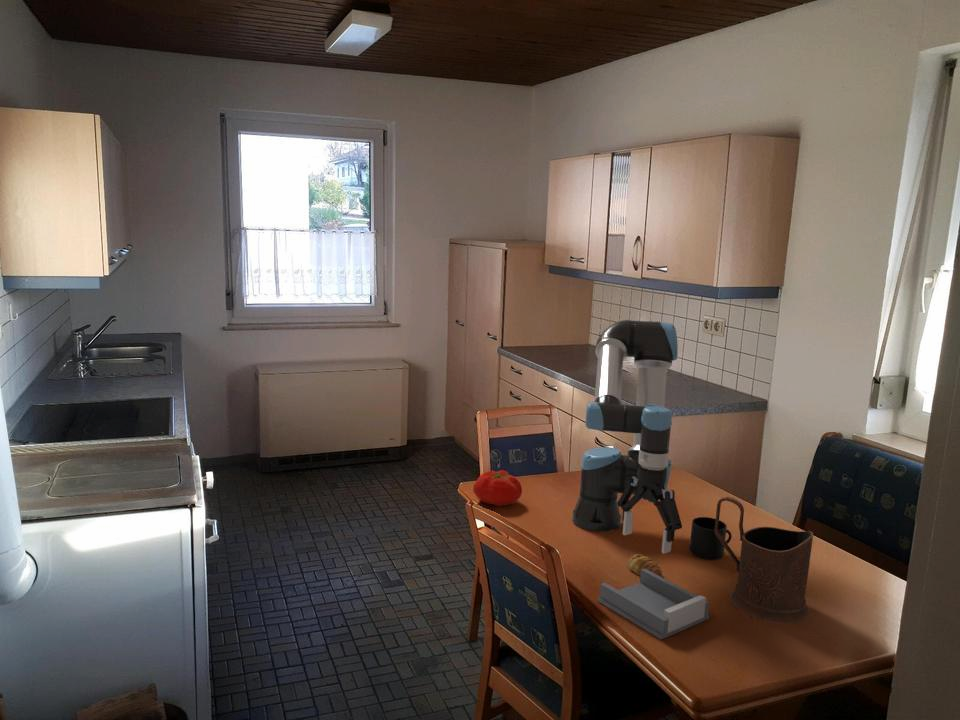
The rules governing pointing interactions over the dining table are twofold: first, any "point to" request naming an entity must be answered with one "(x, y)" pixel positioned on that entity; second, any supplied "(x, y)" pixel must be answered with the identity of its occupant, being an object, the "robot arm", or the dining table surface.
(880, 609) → the dining table surface
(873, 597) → the dining table surface
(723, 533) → the mug
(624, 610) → the tray
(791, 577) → the brown pitcher
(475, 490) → the tomato
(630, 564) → the pastry
